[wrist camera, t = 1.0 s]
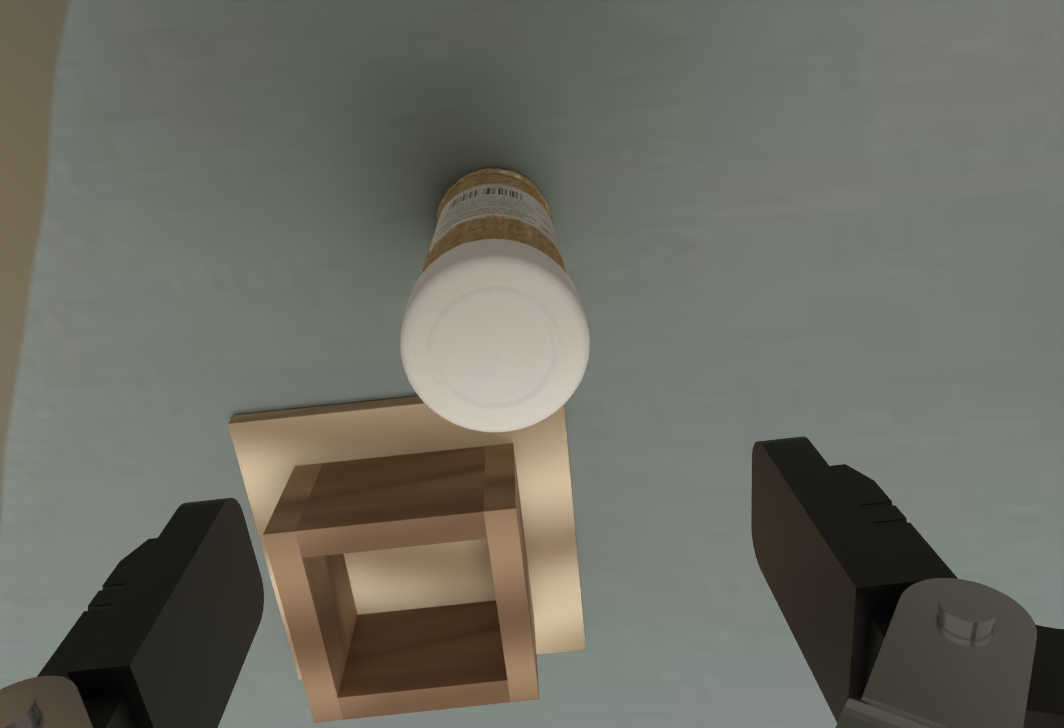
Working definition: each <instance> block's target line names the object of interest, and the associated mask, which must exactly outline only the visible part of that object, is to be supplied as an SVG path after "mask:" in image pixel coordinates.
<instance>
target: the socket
mask: <svg viewBox="0 0 1064 728" xmlns="http://www.w3.org/2000/svg"><path fill="white" fill-rule="evenodd" d="M228 426H229V429H230V433H231V437H232V440H233V444H234V447H235V451H236V455H237V458H238V462H239V465H240V469H241V473H242V476H243V480H244V483H245V487H246V491H247V494H248V498H249V501H250V505H251V509H252V512H253V516H254V519H255V523H256V527H257V530H258V534H259V537H260V541H261V545H262V548H263V552H264V555H265V559H266V563H267V566H268V570H269V573H270V577H271V581H272V584H273V588H274V591H275V595H276V599H277V602H278V606H279V609H280V613H281V617H282V620H283V624H284V627H285V631H286V635H287V638H288V642H289V645H290V649H291V653H292V656H293V660H294V663H295V667H296V671H297V674H298V678H299V679H303V683H304V687H305V690H306V694H307V697H308V701H309V705H310V708H311V712H312V716H313V719H314V723H315V722H325V721H335V720H344V719H354V718H363V717H373V716H382V715H392V714H402V713H411V712H421V711H430V710H440V709H449V708H459V707H469V706H478V705H488V704H497V703H507V702H516V701H526V700H536V699H539V687H538V671H537V655H536V654H546V653H555V652H565V651H575V650H584V649H586V648H585V637H584V625H583V614H582V603H581V592H580V580H579V569H578V558H577V546H576V535H575V524H574V513H573V501H572V490H571V479H570V468H569V456H568V445H567V434H566V423H565V411H564V405H563V406H562V407H561V408H559V409H558V410H557V411H556V412H555V413H553V414H552V415H550V416H549V417H547V418H545V419H544V420H542V421H540V422H538V423H536V424H534V425H531V426H528V427H526V428H522V429H518V430H513V431H508V432H483V431H477V430H471V429H467V428H464V427H462V426H458V425H456V424H454V423H452V422H450V421H448V420H446V419H444V418H443V417H441V416H440V415H438V414H437V413H435V412H434V411H433V410H432V409H430V408H429V407H428V406H427V405H426V404H425V403H424V402H423V401H422V399H421V398H420V397H419V396H414V397H405V398H395V399H385V400H376V401H366V402H357V403H347V404H337V405H328V406H318V407H309V408H299V409H290V410H280V411H270V412H261V413H251V414H242V415H234V416H233V417H232V419H231V420H230V422H229V423H228Z"/></svg>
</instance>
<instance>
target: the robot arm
mask: <svg viewBox="0 0 1064 728" xmlns="http://www.w3.org/2000/svg"><path fill="white" fill-rule="evenodd" d="M752 539H753V545H754V550H755V554H756V558H757V561H758V564H759V567H760V569H761V571H762V573H763V575H764V577H765V579H766V581H767V583H768V585H769V587H770V589H771V591H772V593H773V595H774V597H775V599H776V601H777V603H778V605H779V607H780V609H781V611H782V613H783V615H784V617H785V619H786V621H787V623H788V625H789V627H790V629H791V631H792V633H793V635H794V637H795V639H796V641H797V643H798V645H799V647H800V649H801V651H802V653H803V655H804V657H805V659H806V661H807V663H808V665H809V667H810V669H811V671H812V673H813V675H814V677H815V679H816V681H817V683H818V685H819V687H820V689H821V691H822V693H823V695H824V697H825V699H826V701H827V703H828V705H829V707H830V709H831V711H832V713H833V715H834V717H835V719H836V721H837V726H836V728H1064V629H1055V628H1049V627H1043V626H1038V625H1035V623H1034V621H1033V620H1032V618H1031V616H1030V615H1029V614H1028V612H1027V611H1026V610H1025V609H1024V608H1023V607H1022V606H1021V605H1019V604H1018V603H1017V602H1016V601H1014V600H1013V599H1011V598H1010V597H1009V596H1007V595H1005V594H1003V593H1001V592H999V591H998V590H995V589H993V588H991V587H988V586H986V585H982V584H979V583H976V582H972V581H967V580H962V579H958V578H957V577H956V576H955V575H954V573H953V572H952V571H951V570H950V569H949V568H948V566H947V565H946V564H945V563H944V562H943V561H942V559H941V558H940V557H939V556H938V555H937V554H936V552H935V551H934V550H933V549H932V548H931V547H930V545H929V544H928V543H927V542H926V541H925V540H924V538H923V537H922V536H921V535H920V534H919V533H918V531H917V530H916V529H915V528H914V527H913V526H912V524H911V523H907V521H906V517H905V516H904V515H903V514H902V513H901V512H900V510H899V509H898V508H897V507H896V506H895V505H894V506H892V501H891V500H890V499H889V498H888V496H887V495H886V494H885V493H884V492H883V491H882V489H881V488H880V487H879V486H878V485H877V484H876V482H875V481H874V480H872V479H870V478H868V477H867V476H865V475H863V474H861V473H860V472H858V471H856V470H854V469H853V468H851V467H849V466H847V465H845V464H843V465H834V466H829V465H828V464H827V463H826V461H825V460H824V459H823V457H822V456H821V455H820V454H819V452H818V451H817V450H816V448H815V447H814V446H813V445H812V443H811V442H810V441H809V440H808V439H807V438H806V437H795V438H786V439H777V440H767V441H758V442H756V443H755V444H754V447H753V452H752ZM263 605H264V591H263V583H262V578H261V575H260V571H259V568H258V564H257V561H256V557H255V554H254V550H253V547H252V543H251V540H250V536H249V532H248V529H247V525H246V522H245V518H244V515H243V512H242V509H241V507H240V504H239V503H238V501H237V500H236V499H234V498H226V499H216V500H207V501H198V502H189V503H183V504H182V505H180V506H179V508H178V509H177V510H176V512H175V513H174V515H173V516H172V518H171V519H170V521H169V522H168V524H167V525H166V527H165V528H164V530H163V531H162V533H161V534H160V535H159V537H158V538H154V539H148V540H147V541H146V542H144V543H143V544H142V545H141V546H139V547H138V548H137V549H135V550H134V551H133V552H132V553H130V554H129V555H128V556H126V557H125V558H124V559H123V560H121V561H120V562H119V564H118V565H117V566H116V568H115V569H114V571H113V572H112V573H111V575H110V576H109V578H108V579H107V580H106V582H105V583H104V584H103V590H102V591H98V593H97V594H96V596H95V597H94V598H93V600H92V601H91V603H90V604H89V605H88V611H84V612H83V614H82V615H81V616H80V618H79V619H78V621H77V622H76V623H75V625H74V626H73V628H72V629H71V630H70V632H69V633H68V634H67V636H66V637H65V639H64V640H63V641H62V643H61V644H60V646H59V647H58V648H57V650H56V651H55V653H54V654H53V655H52V657H51V658H50V659H49V661H48V662H47V664H46V665H45V666H44V668H43V669H42V671H41V672H40V673H39V675H38V676H37V677H34V678H30V679H26V680H23V681H20V682H17V683H14V684H12V685H9V686H7V687H5V688H2V689H0V728H218V725H219V723H220V720H221V718H222V715H223V713H224V710H225V708H226V705H227V703H228V700H229V698H230V696H231V693H232V691H233V688H234V686H235V683H236V681H237V678H238V676H239V673H240V671H241V668H242V666H243V663H244V661H245V658H246V656H247V654H248V651H249V649H250V646H251V644H252V641H253V639H254V636H255V634H256V631H257V629H258V626H259V624H260V621H261V618H262V613H263Z"/></svg>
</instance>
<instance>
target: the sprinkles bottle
mask: <svg viewBox="0 0 1064 728" xmlns="http://www.w3.org/2000/svg"><path fill="white" fill-rule="evenodd" d="M589 349H590V336H589V329H588V324H587V320H586V316H585V312H584V308H583V305H582V302H581V299H580V296H579V294H578V291H577V289H576V287H575V285H574V283H573V282H572V280H571V278H570V277H569V276H568V275H567V270H566V266H565V262H564V259H563V256H562V253H561V250H560V246H559V243H558V239H557V236H556V233H555V230H554V226H553V224H552V216H551V212H550V209H549V205H548V203H547V200H546V199H545V197H544V196H543V195H542V193H541V192H540V190H539V189H538V188H537V186H536V185H535V184H533V183H532V182H531V181H530V180H529V179H527V178H526V177H524V176H522V175H521V174H519V173H516V172H514V171H511V170H504V169H501V168H494V169H489V168H485V169H480V170H477V171H475V172H472V173H469V174H467V175H465V176H463V177H462V178H460V180H458V181H457V182H456V183H455V184H454V185H453V186H452V187H450V188H449V189H448V191H447V192H446V194H445V196H444V197H443V199H442V201H441V203H440V205H439V208H438V212H437V222H436V230H435V233H434V235H433V237H432V240H431V243H430V246H429V249H428V253H427V256H426V260H425V266H424V269H423V273H422V274H421V276H420V277H419V278H418V280H417V282H416V283H415V285H414V287H413V289H412V291H411V294H410V296H409V299H408V302H407V306H406V309H405V313H404V317H403V322H402V327H401V336H400V351H401V358H402V363H403V367H404V370H405V373H406V375H407V378H408V380H409V382H410V384H411V386H412V387H413V389H414V390H415V392H416V393H417V394H418V396H419V397H420V398H421V399H422V401H423V402H424V403H425V404H426V405H427V406H428V407H429V408H430V409H432V410H433V411H434V412H435V413H437V414H438V415H440V416H441V417H443V418H444V419H446V420H448V421H450V422H452V423H454V424H456V425H458V426H462V427H464V428H467V429H471V430H477V431H483V432H508V431H513V430H518V429H522V428H526V427H528V426H531V425H534V424H536V423H538V422H540V421H542V420H544V419H545V418H547V417H549V416H550V415H552V414H553V413H555V412H556V411H557V410H558V409H559V408H561V407H562V406H563V405H564V404H565V403H566V402H567V401H568V399H569V398H570V397H571V395H572V394H573V393H574V391H575V390H576V388H577V387H578V385H579V384H580V382H581V380H582V378H583V375H584V372H585V369H586V366H587V362H588V357H589Z"/></svg>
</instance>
